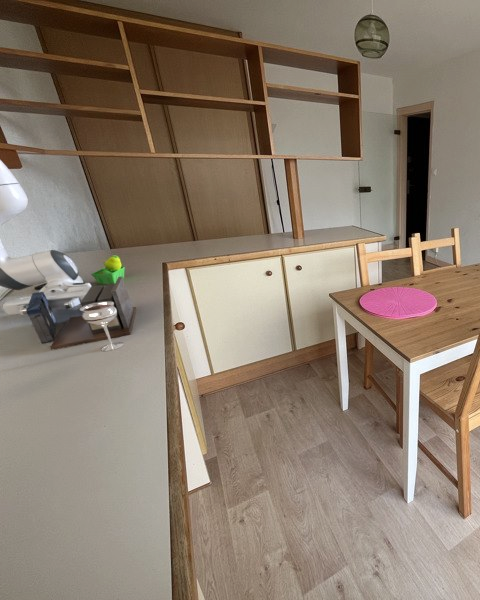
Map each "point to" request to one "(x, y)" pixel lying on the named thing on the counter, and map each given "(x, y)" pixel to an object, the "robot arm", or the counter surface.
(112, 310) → the wineglass
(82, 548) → the counter surface
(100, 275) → the fruit basket
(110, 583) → the counter surface
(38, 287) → the handheld gaming console
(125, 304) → the book rack
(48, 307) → the vhs cassette tape
